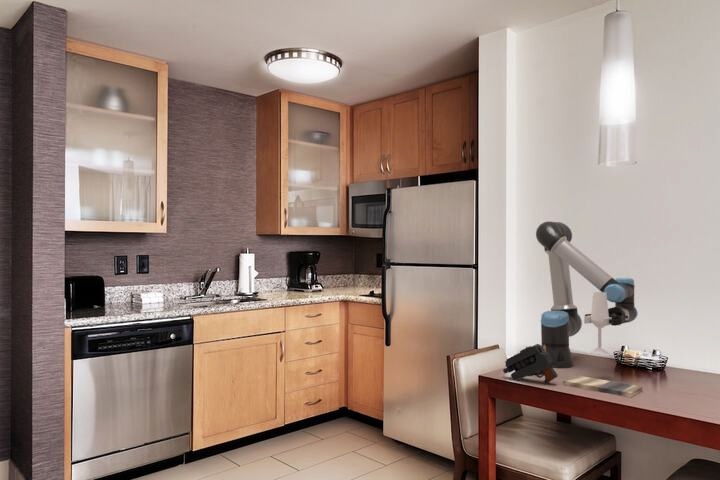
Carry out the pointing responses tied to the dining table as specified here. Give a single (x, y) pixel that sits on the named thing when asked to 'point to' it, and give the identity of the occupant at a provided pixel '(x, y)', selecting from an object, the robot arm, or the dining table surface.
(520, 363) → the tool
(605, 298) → the champagne flute
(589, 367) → the dining table surface
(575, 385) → the subfloor board
